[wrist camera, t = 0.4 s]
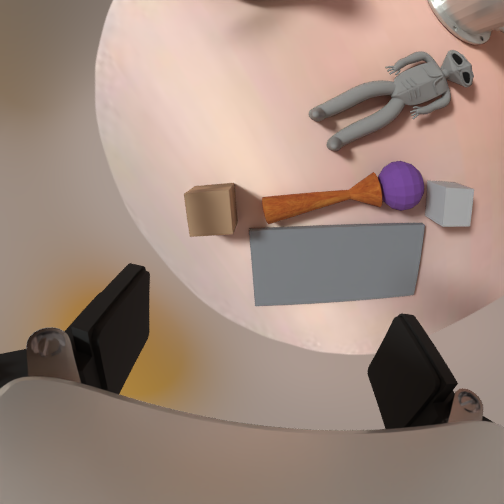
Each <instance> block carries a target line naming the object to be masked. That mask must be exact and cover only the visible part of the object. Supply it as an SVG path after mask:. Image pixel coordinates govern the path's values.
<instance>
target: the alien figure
mask: <svg viewBox="0 0 504 504" xmlns="http://www.w3.org/2000/svg"><path fill="white" fill-rule="evenodd" d="M422 60H423V61H425V62H426V63H424V64H421V65H418V66H415V67H413V68H410V69H408V70H406V71H404V72H402V73H400V74H399V75H398V76H397V77H396V78H395V79H394V82H391V81H372V82H368V83H364V84H361V85H358V86H356V87H354V88H352V89H350V90H348V91H346V92H344V93H342V94H341V95H339V96H337V97H335V98H333V99H331V100H329V101H327V102H325V103H323V104H321V105H319V106H317V107H315V108H313V109H311V110H310V111H309V117H310V118H311V119H312V120H314V121H318V122H319V121H322V120H323V119H325V118H328V117H330V116H333V115H335V114H338V113H340V112H342V111H345V110H347V109H349V108H351V107H353V106H354V105H356V104H358V103H360V102H362V101H364V100H367V99H369V98H372V97H376V96H382V95H391V97H392V99H391V100H390V101H389V102H388V104H387V105H385V106H384V107H383V108H382V109H381V110H379V111H378V112H376V113H374V114H372V115H370V116H368V117H366V118H364V119H361V120H359V121H357V122H355V123H353V124H351V125H349V126H347V127H345V128H344V129H342V130H340V131H339V132H337V133H336V134H335V135H333V136H332V137H331V138H330V139H329V140H328V142H327V147H328V149H329V150H331V151H338V150H339V149H340V148H341V147H343V146H344V145H346V144H348V143H350V142H352V141H354V140H357V139H359V138H361V137H363V136H366V135H368V134H370V133H373V132H375V131H377V130H379V129H381V128H383V127H384V126H386V125H388V124H389V123H390V122H391V121H393V120H394V119H395V118H396V117H397V116H398V115H399V113H400V112H401V111H402V109H403V108H404V106H405V104H406V105H417V104H420V103H423V102H426V101H428V100H431V99H433V98H435V97H437V96H439V95H441V94H442V97H441V98H439V99H437V100H436V101H434V102H432V103H431V104H429V105H427V106H424V107H418V106H414V107H413V108H418V109H416V110H412V111H410V113H412V112H415V111H416V112H415V113H414V114H411V116H413V115H415V114H417V115H416V116H414V117H413V118H412V119H415V118H416V117H417V116H418V115H419V114H428V113H431V112H432V111H434V110H437V109H441V108H443V107H445V106H447V105H448V104H449V102H450V99H451V94H450V90H449V87H448V84H447V80H450V81H452V82H455V83H457V84H459V85H462V86H464V87H469V86H471V84H472V81H473V78H474V75H473V72H472V65H471V64H470V63H469V62H468V61H467V59H466V58H465V57H464V56H463V55H461V54H460V53H459V52H457V51H455V50H450V51H449V52H448V53H447V55H446V57H445V60H444V62H443V64H442V66H441V68H440V67H439V66H438V65H437V63H436V62H435V60H434V59H433V58H432V57H431V56H430V55H429V54H427V53H425V52H415V53H413V54H411V55H409V56H407V57H405V58H403V59H400V60H399V61H397V62H396V64H395V65H394V66H387V67H385V68H392V69H389V70H387V71H388V72H389V71H391V70H394V71H392V72H391V73H389V74H390V75H391V74H392V73H394V72H396V71H398V72H397V73H396V74H395V75H397V74H398V73H399V72H400V69H401V68H403V67H405V66H406V65H408V64H412V63H416V62H419V61H422ZM446 79H447V80H446Z"/></svg>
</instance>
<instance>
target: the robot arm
mask: <svg viewBox="0 0 504 504" xmlns="http://www.w3.org/2000/svg"><path fill="white" fill-rule="evenodd" d="M428 2H429V5H430V7H431V8H432V10H433V12H434V14H435V15H436V16H437V18H438V19H439V20H440V22H441V23H442V24H443V25H444V26H445V27H446V28H447V29H448V30H449V31H450V32H451V33H452V34H454V35H455V36H456V37H458V38H459V39H461V40H462V41H464V42H466V43H469V44H473V45H479V44H483V43H485V42H487V41H488V40H489V38H490V35H491V31H493V30H496V31H499V30H500V31H501V32H503V33H504V0H428ZM149 284H150V274H149V272H148V271H146V269H145V267H144V266H140V265H135V264H131V263H130V264H128V265H127V266H126V267H125V268H124V269H123V270H122V271H121V272H120V273H119V274H118V275H117V276H116V278H115V279H114V280H113V281H112V282H111V283H110V284H109V285H108V286H107V287H106V288H105V289H104V290H103V291H102V292H101V293H99V294H98V295H97V296H96V297H95V298H94V300H92V301H91V303H90V304H89V305H88V306H87V307H86V308H85V309H84V310H83V311H82V312H81V314H80V315H79V316H78V317H77V318H76V319H75V320H74V322H73V323H72V324H71V325H70V326H69V327H68V328H67V330H65V332H64V331H62V330H60V329H58V328H43V329H40V330H38V331H36V332H34V333H33V334H32V335H31V336H30V337H29V339H28V341H27V346H26V349H24V350H19V351H13V352H8V353H4V354H0V504H504V427H503V426H501V425H499V424H496V423H493V422H492V421H491V420H489V419H487V418H485V417H484V416H483V404H482V401H481V400H480V398H479V397H478V396H477V395H476V394H475V393H474V392H472V391H470V390H468V389H459V390H458V391H456V392H455V394H454V392H453V389H454V388H455V387H456V385H457V384H458V383H457V381H456V379H455V378H454V376H453V374H452V373H451V371H450V369H449V368H448V366H447V364H446V363H445V362H444V360H443V358H442V357H441V355H440V353H439V352H438V350H437V349H436V347H435V346H434V344H433V343H432V341H431V340H430V338H429V337H428V335H427V334H426V332H425V331H424V329H423V328H422V326H421V325H420V323H419V322H418V320H417V319H416V317H415V316H414V315H409V314H402V313H401V314H399V315H398V317H395V318H394V320H393V321H392V324H391V326H390V328H389V330H388V332H387V334H386V336H385V338H384V339H383V341H382V343H381V345H380V347H379V349H378V351H377V353H376V355H375V357H374V358H373V360H372V362H371V364H370V365H369V367H368V377H369V380H370V383H371V385H372V388H373V391H374V394H375V397H376V400H377V403H378V407H379V410H380V413H381V416H382V419H383V422H384V425H385V429H380V430H311V429H294V428H282V427H271V426H263V425H255V424H246V423H239V422H233V421H227V420H220V419H216V418H210V417H205V416H200V415H195V414H191V413H186V412H182V411H178V410H173V409H170V408H165V407H161V406H157V405H154V404H150V403H146V402H142V401H139V400H136V399H132V398H128V397H126V396H122V395H119V393H120V391H121V389H122V387H123V385H124V383H125V381H126V379H127V377H128V375H129V373H130V372H131V369H132V367H133V366H134V364H135V362H136V360H137V358H138V356H139V354H140V352H141V350H142V348H143V347H144V345H145V343H146V341H147V339H148V336H149Z"/></svg>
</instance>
